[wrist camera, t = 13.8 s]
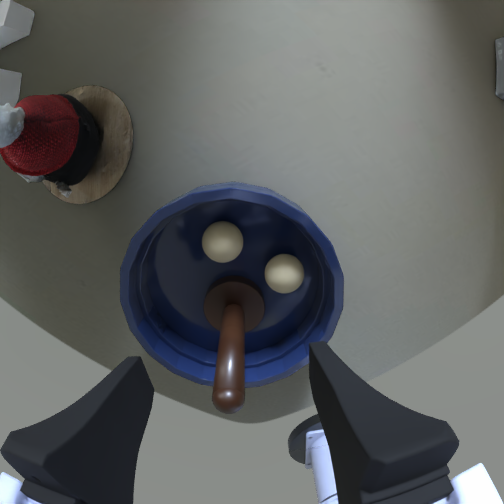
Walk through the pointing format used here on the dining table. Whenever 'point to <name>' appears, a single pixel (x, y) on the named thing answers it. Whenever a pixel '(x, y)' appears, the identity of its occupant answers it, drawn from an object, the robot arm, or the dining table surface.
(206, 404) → the dining table surface
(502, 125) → the dining table surface
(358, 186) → the dining table surface
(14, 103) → the tape dispenser
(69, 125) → the figurine
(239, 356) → the brown plunger
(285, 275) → the dumpling
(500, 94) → the cosmetic box
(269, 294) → the bowl
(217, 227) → the dumpling
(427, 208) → the dining table surface
